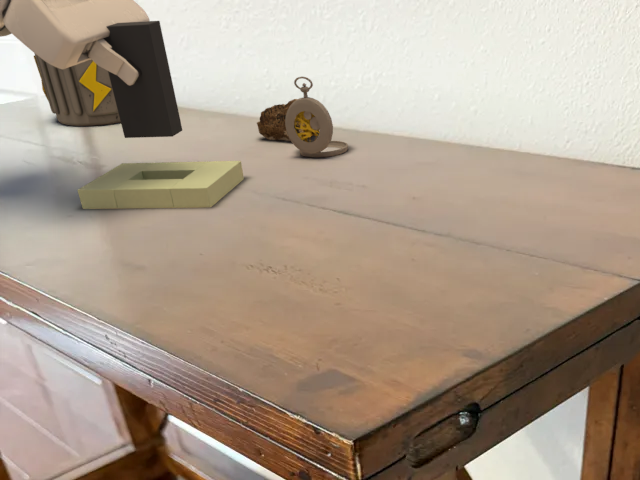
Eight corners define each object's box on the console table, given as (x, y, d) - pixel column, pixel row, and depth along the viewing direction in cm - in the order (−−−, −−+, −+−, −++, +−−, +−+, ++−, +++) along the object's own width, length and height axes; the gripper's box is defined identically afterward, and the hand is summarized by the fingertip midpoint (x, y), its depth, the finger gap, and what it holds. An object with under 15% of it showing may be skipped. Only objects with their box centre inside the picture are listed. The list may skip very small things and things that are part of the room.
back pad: (124, 138, 94) (96, 27, 88) (135, 131, 97) (109, 23, 90) (172, 136, 93) (148, 24, 87) (182, 130, 96) (159, 20, 89)
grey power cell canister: (58, 112, 150) (-1, -94, 131) (162, 100, 152) (118, -103, 134) (48, 132, 135) (-21, -97, 117) (163, 119, 138) (113, -106, 119)
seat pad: (83, 212, 96) (76, 189, 94) (127, 183, 105) (121, 163, 103) (211, 210, 93) (206, 187, 92) (244, 181, 102) (241, 160, 101)
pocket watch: (344, 146, 114) (336, 65, 108) (354, 160, 108) (346, 74, 102) (286, 153, 113) (275, 71, 107) (293, 167, 107) (281, 81, 101)
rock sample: (339, 102, 119) (297, 65, 113) (339, 147, 118) (296, 113, 111) (289, 133, 126) (246, 100, 119) (288, 176, 124) (245, 145, 117)
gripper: (70, -8, 96) (167, 82, 101) (-29, 13, 81) (91, 118, 85) (94, -57, 93) (193, 38, 97) (-5, -45, 77) (119, 68, 82)
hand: (145, 76), depth 91 cm, fingers closed on back pad, 3 cm apart
